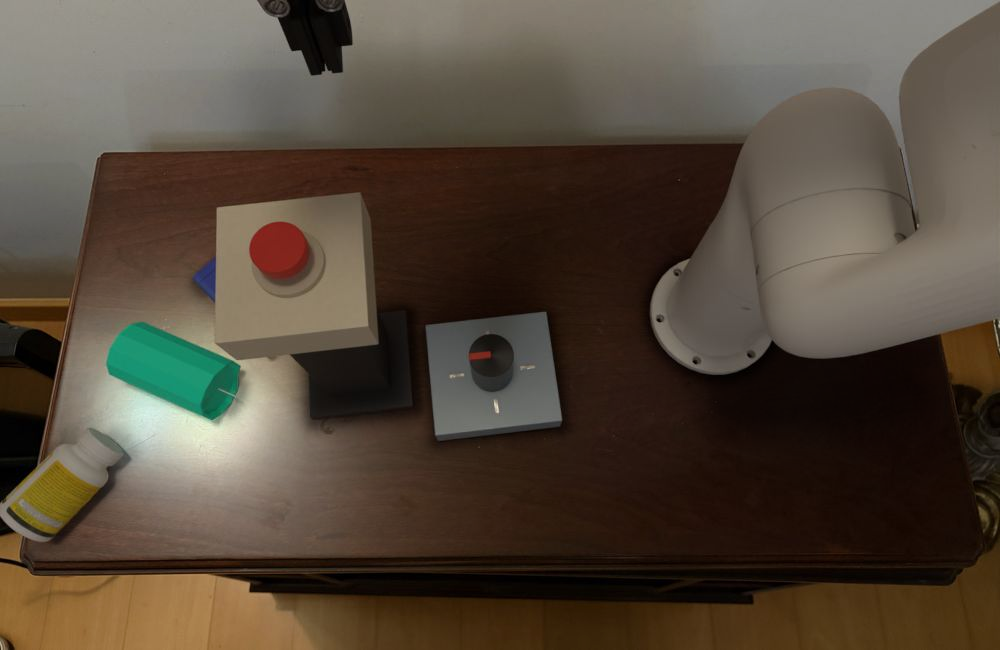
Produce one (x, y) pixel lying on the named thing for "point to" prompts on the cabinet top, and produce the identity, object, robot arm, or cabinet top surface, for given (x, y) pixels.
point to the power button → (279, 250)
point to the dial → (491, 362)
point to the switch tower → (315, 306)
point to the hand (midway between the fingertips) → (326, 51)
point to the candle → (174, 369)
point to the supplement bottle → (60, 486)
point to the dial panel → (502, 411)
